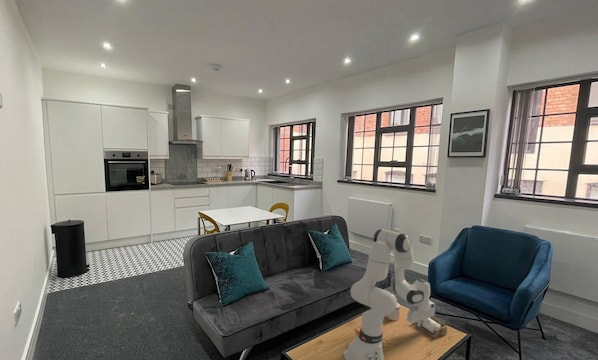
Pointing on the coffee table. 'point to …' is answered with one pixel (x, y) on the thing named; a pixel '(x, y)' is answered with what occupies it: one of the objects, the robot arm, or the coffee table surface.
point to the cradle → (438, 331)
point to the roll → (430, 325)
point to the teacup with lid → (394, 313)
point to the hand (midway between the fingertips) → (420, 325)
